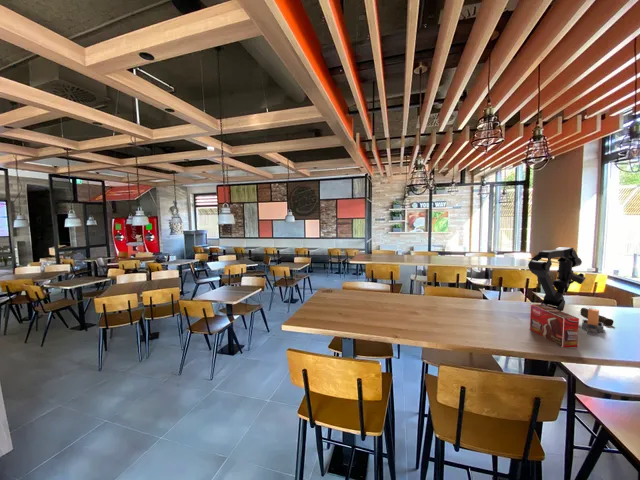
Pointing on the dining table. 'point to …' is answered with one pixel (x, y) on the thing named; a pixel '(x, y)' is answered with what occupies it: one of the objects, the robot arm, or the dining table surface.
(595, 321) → the orange rectangular block
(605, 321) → the hand tool
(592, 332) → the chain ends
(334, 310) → the dining table surface
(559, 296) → the robot arm
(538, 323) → the ice cream box
